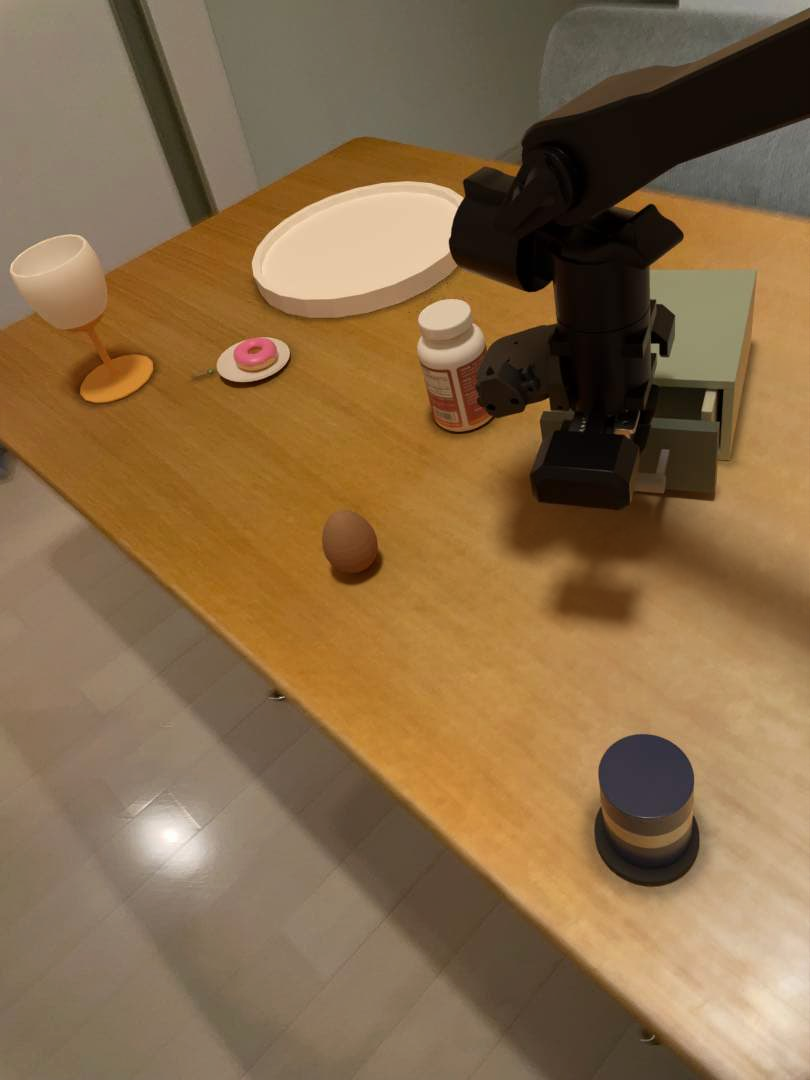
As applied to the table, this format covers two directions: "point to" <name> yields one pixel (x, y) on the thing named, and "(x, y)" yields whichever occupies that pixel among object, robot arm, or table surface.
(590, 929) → the table surface
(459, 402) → the pill bottle
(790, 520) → the table surface
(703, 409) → the drawer
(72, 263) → the cup
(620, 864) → the coaster
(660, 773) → the can
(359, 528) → the egg
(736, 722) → the table surface
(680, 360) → the pale olive box
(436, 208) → the plate
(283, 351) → the donut
